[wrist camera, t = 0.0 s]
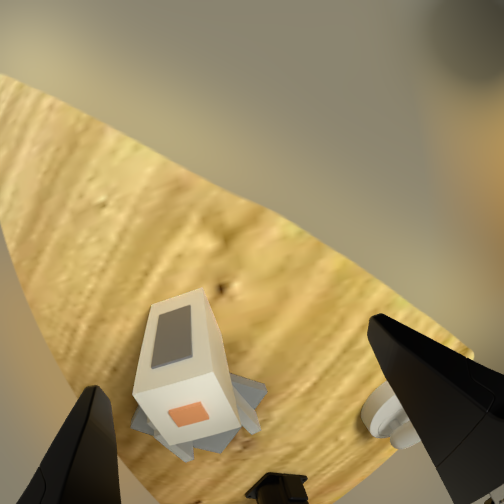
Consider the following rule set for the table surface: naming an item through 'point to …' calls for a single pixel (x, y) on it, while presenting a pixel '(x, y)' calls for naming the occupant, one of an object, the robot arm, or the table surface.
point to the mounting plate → (246, 401)
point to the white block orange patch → (185, 371)
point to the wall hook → (388, 418)
